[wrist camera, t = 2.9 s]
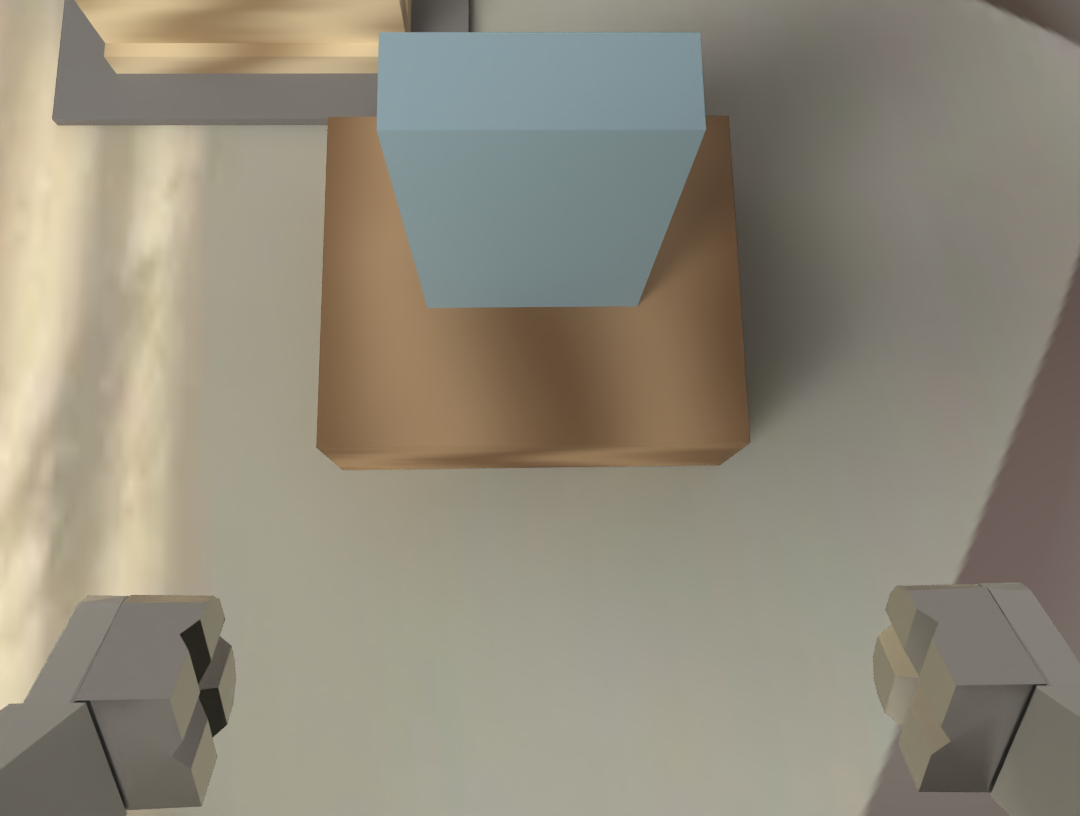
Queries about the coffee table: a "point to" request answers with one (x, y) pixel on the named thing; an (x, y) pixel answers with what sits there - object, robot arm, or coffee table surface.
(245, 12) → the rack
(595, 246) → the pale blue rectangular prism
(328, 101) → the mat
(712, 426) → the block
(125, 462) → the coffee table surface
